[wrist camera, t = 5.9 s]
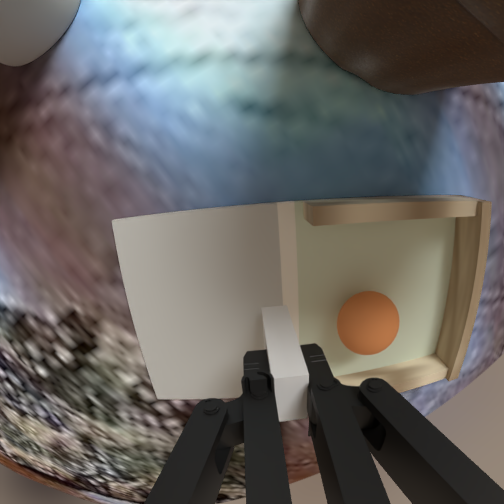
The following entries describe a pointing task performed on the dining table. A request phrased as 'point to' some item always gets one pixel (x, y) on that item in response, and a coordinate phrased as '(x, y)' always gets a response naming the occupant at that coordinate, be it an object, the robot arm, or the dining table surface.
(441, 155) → the dining table surface
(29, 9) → the mug
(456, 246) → the fence
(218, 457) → the robot arm
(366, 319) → the ball
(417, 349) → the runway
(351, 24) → the plant pot
